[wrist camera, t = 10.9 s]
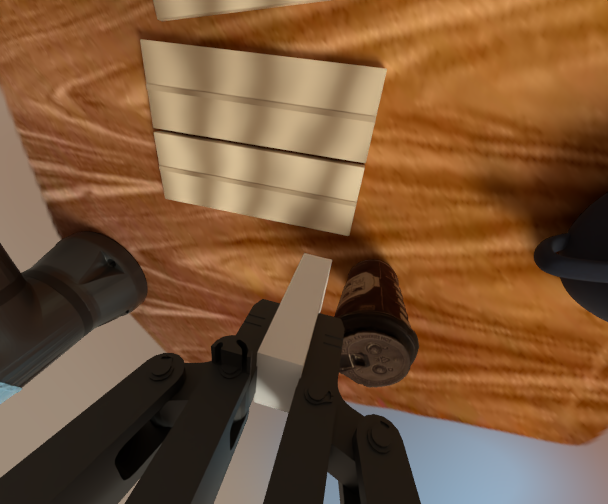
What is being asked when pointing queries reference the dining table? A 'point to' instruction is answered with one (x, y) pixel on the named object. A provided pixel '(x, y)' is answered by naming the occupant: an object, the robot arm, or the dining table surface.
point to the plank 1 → (214, 7)
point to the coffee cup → (375, 327)
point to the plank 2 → (259, 181)
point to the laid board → (263, 98)
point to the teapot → (581, 258)
